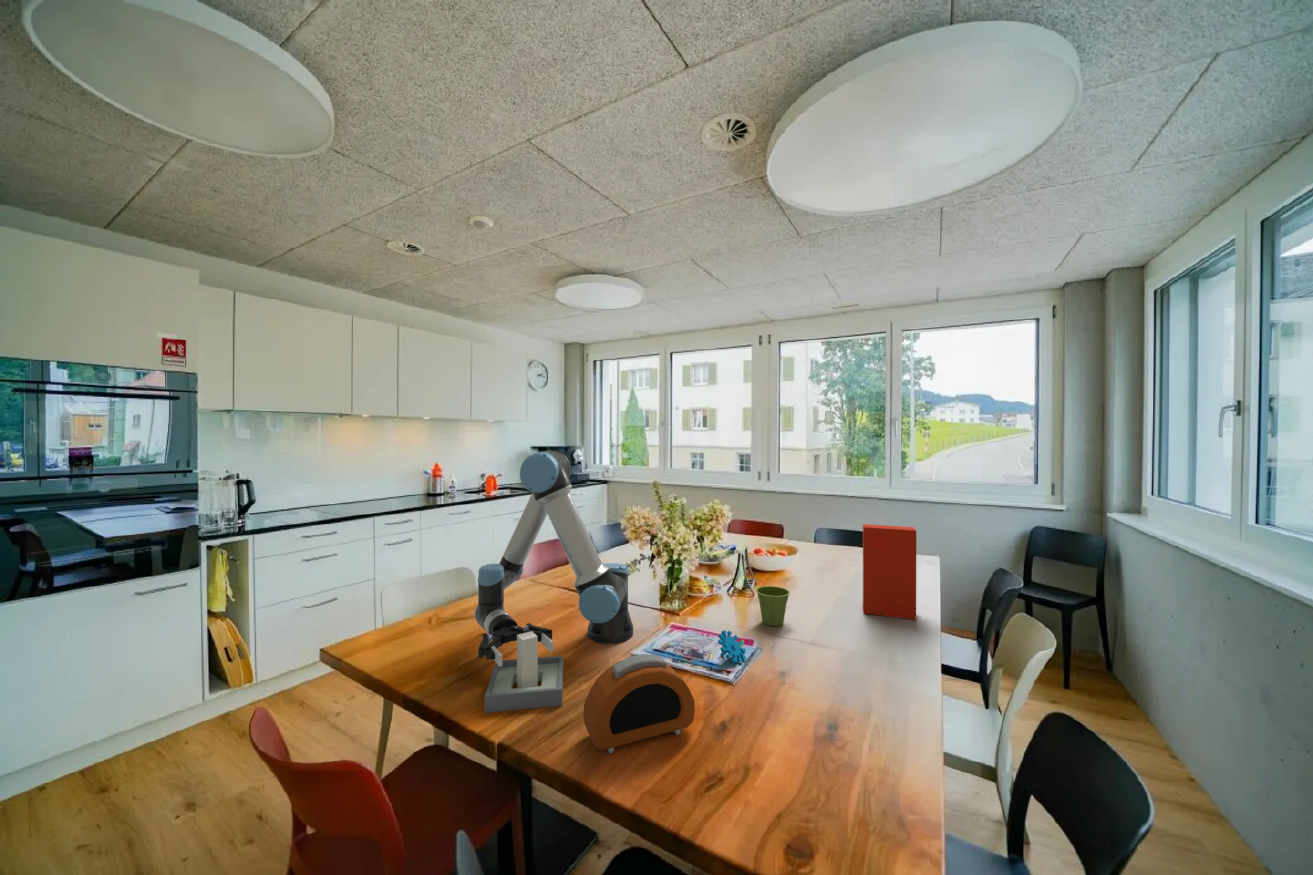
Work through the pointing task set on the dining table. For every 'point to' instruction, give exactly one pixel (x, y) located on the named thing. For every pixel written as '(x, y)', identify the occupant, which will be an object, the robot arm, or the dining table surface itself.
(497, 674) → the bore box
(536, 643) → the peg
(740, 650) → the gear
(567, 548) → the robot arm
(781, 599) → the plant pot
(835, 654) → the dining table surface
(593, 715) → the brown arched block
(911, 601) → the file binder
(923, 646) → the dining table surface
